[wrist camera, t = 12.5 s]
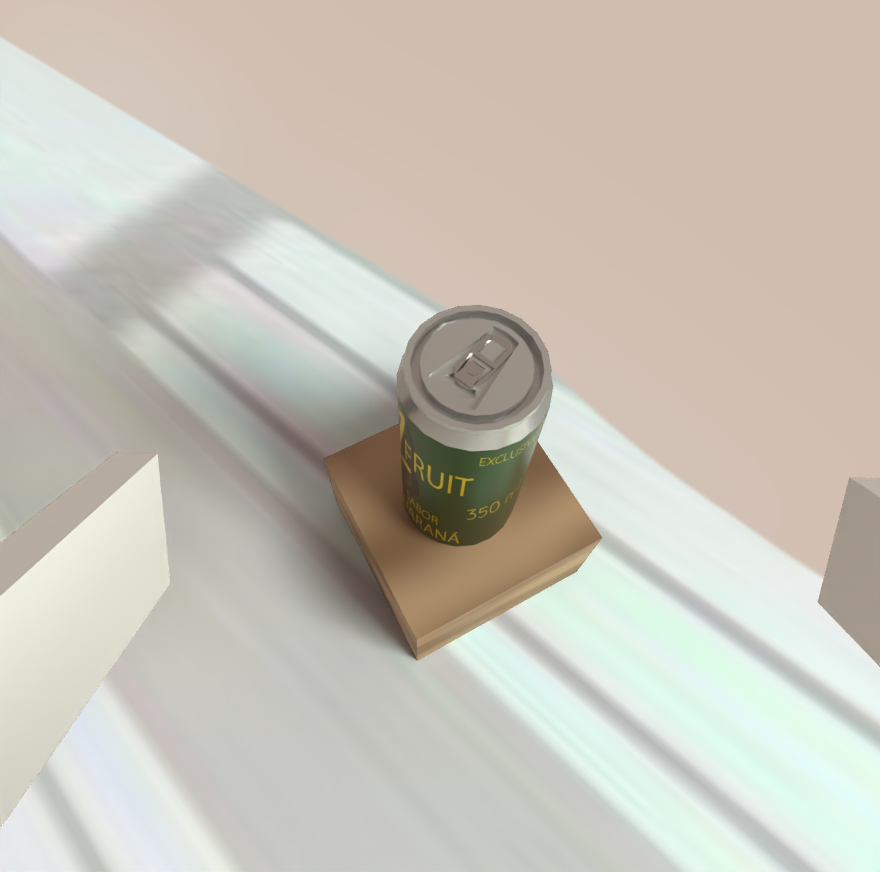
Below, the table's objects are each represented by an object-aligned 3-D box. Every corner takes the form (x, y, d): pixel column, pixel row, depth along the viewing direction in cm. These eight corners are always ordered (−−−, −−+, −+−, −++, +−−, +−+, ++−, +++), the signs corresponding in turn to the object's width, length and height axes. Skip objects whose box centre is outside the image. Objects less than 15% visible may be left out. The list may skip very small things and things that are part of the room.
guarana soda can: (450, 428, 35) (464, 274, 24) (534, 492, 33) (590, 357, 23) (379, 504, 33) (361, 372, 22) (466, 574, 31) (492, 470, 21)
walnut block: (336, 501, 39) (323, 458, 34) (486, 430, 42) (495, 379, 36) (417, 660, 35) (416, 640, 30) (576, 571, 38) (602, 537, 32)
